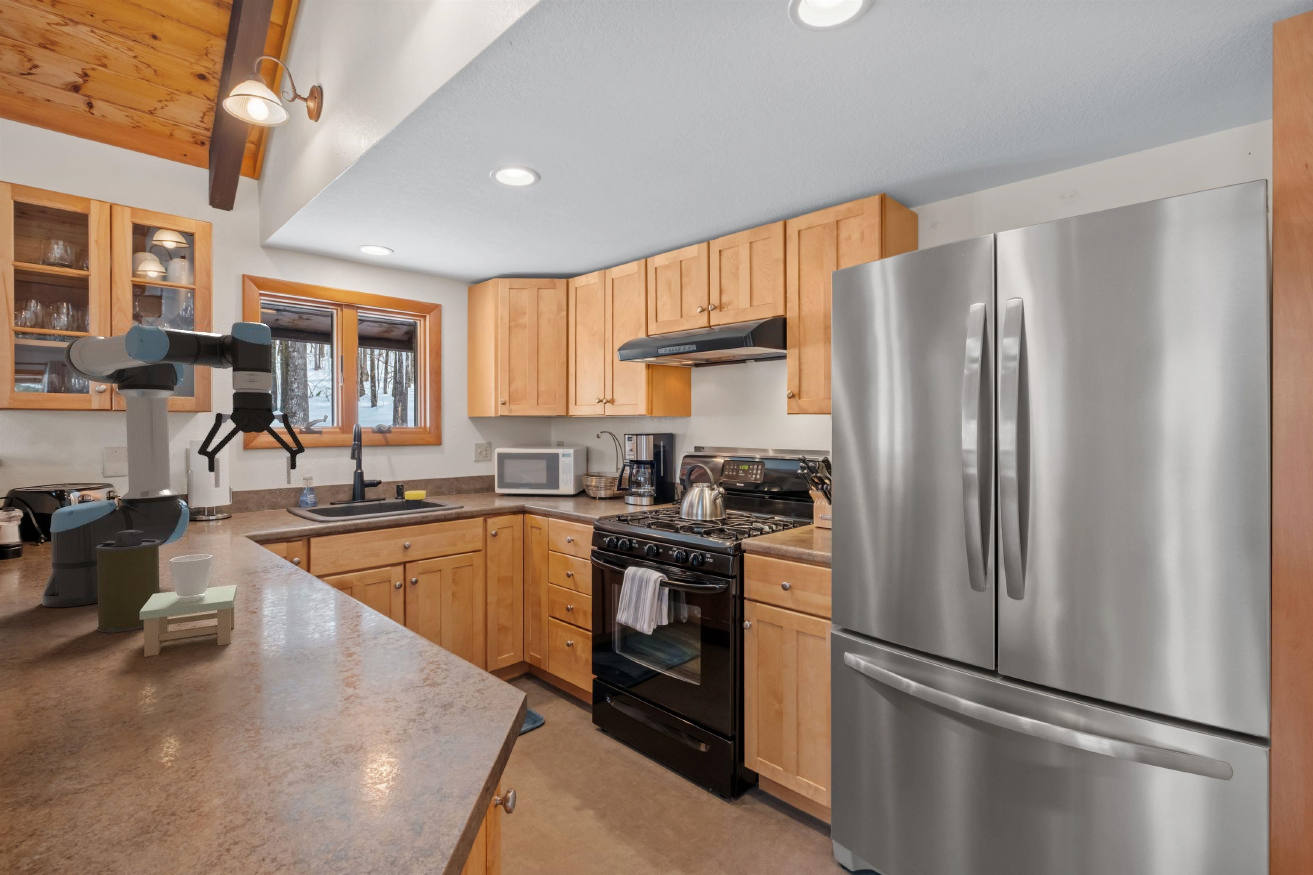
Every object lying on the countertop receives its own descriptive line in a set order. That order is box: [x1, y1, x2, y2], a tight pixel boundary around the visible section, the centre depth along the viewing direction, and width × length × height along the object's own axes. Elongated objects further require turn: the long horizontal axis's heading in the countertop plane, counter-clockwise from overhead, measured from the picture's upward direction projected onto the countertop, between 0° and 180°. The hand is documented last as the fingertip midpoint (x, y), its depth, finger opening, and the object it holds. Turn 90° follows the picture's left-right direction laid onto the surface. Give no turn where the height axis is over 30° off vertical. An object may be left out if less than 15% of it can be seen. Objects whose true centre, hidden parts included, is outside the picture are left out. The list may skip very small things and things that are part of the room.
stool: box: [140, 584, 238, 658], centre depth 123 cm, size 14×14×8 cm
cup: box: [168, 553, 214, 602], centre depth 122 cm, size 7×10×8 cm
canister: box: [95, 530, 160, 634], centre depth 132 cm, size 11×10×20 cm
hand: (253, 485), depth 141 cm, fingers open, 13 cm apart
